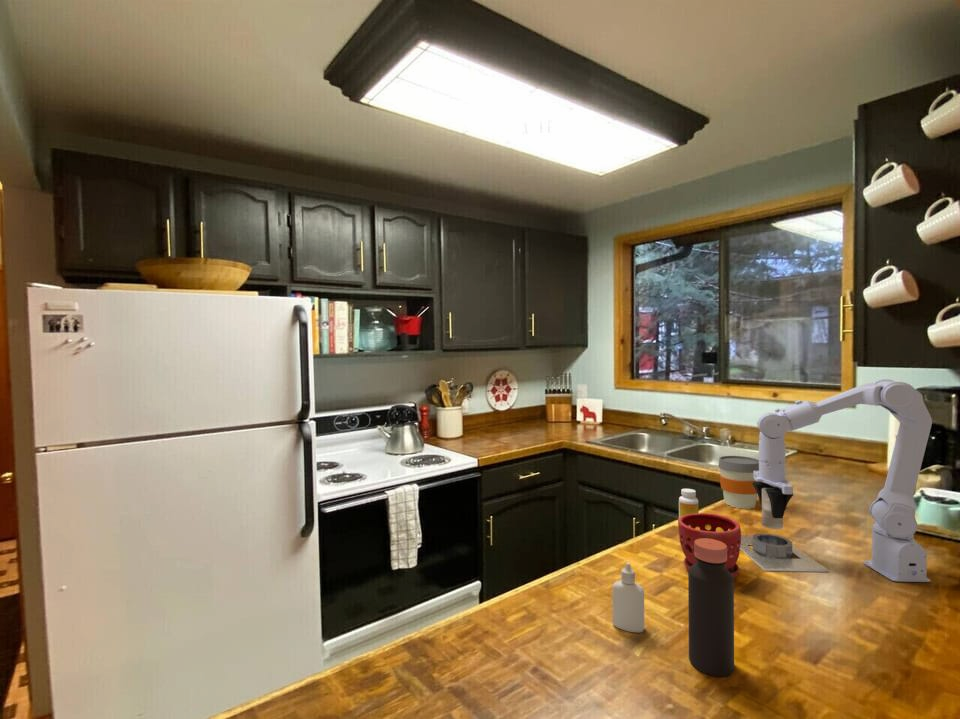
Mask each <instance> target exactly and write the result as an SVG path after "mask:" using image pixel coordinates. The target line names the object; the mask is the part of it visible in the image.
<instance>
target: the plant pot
mask: <svg viewBox="0 0 960 719" xmlns="http://www.w3.org/2000/svg"><path fill="white" fill-rule="evenodd" d="M677 523H678V524H677V525H678V526H677V527H678V528H677V529H678V536H679V542H680V547H681V549H682V553H683V555H684V557H685V558H684V560H683V564H684V566H685V567H686V568H685V569H687V570H688V571H689V568H690V567H691V566H692V565H694V564H695V563H696V559H695V555H694V541H695V540H697V539H701V538H708V539H714V540H718V541H721V542H723V543H724V544H726V545H727V563H726V564H725V568H726V569H727V570H728V571H729V572H730V573H731V574H732V576H733V579H735V577H737V576H738V575H739V573H740V567H739V564H738V560H739V558H740V553H741V552H740V551H741V550H740V545H741V535H742V530H741V525H740V524H739V522H737V521H736V520H734V518H733V519H732V518H731V517H728V516H724V515H720V514H716V513H706V512H705V513H704V512H698V513H694V514H687V515H684V516H682V517H680V518H679V517H678V521H677ZM706 526H709V527H710V529H708V528H706ZM697 527H698V528H699V529H697ZM718 528H720V529H722V531H717V529H718Z"/></svg>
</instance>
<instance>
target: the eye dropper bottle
mask: <svg viewBox="0 0 960 719" xmlns="http://www.w3.org/2000/svg"><path fill="white" fill-rule="evenodd" d="M635 574H636V571H635V570H634V569H632V568H631V563H630V562H626V563H625V567H623V568H621V576H620V577H621V578H620V579H621V580H617V581H615V582H614V583H613V584H612V625H613V626H614V627H615V628H618V629H619V630H623V631H626V632H630V633H643V632H644V630H645V591H644V590H645V589H644V588H643V587H642V586H641V585H640V584H639V583H638V582H636V575H635Z"/></svg>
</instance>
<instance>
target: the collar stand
mask: <svg viewBox="0 0 960 719" xmlns="http://www.w3.org/2000/svg"><path fill="white" fill-rule="evenodd" d="M748 545H753V546H752V547H751V546H748ZM740 549H741V550H742V551H743V552H742V551H741V550H740V551H741V552H742V553H743V554H745V555H746V556H747V557H748V556H749V557H750V558H751V561H753V562H754V563H755V564H756V565H757V566H758V567H760V568H761V569H762V570H763V571H764V572H805V573H806V572H811V573H814V572H815V573H818V572H819V573H828V568H826V567H825V566H823V565H822V564H820V563H819V562H817V561H816V560H815V559H813V558H812V557H810V556H809V555H807V554H806V553H804V552H803V551H802V550H800V549H799V548H797V547H796V546H795V545H794V544H793V541H792V540H790V539H788V538H786V537H783V536H781V535H778V534H771V533H756V534H753V535H752V534H751V535H749V534H745V535H744V534H741V545H740ZM793 556H794V557H796V558H793ZM749 557H748V558H749Z"/></svg>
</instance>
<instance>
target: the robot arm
mask: <svg viewBox="0 0 960 719" xmlns="http://www.w3.org/2000/svg"><path fill="white" fill-rule="evenodd" d="M857 405H868V406H876V407H877V406H878V407H882V408H884V409H886V410H887V411H889V413H890V414H891V415H892V416H893V417H894V418H895V419H896V420H897V421H898V422H899V426H898V429H897V430H898V431H897V434H896V438H895V441H894V447H893V451H892V455H891V458H890V463H889V466H888V472H887V475H886V480H885V483H884V487H883V488H882V489H881V490H880V491H879V492H878V495H877V498H876V499H875V500H874V501H873V502H872V503H871V504H870V507H869V513H870V515H871V518H872V519H874V521H875V522H874V524H873V525H872V527H871V528H872V531H871V534H872V535H871V536H872V537H871V540H872V541H871V543H872V545H871V548H872V549H871V550H872V551H871V552H872V554H871V556H872V557H871V558H872V559H871V560H862V563H863V564H864V565H865V566H867V567H869V568H871V569H872V570H874V571H876V572H877V573H879V574H880V575H882V576H884V577H886V578H887V579H889V580H890V581H892V582H903V583H904V582H906V583H907V582H908V583H912V582H914V583H931V582H932V581H931V579H930V578H928V577H927V565H928V564H927V557H928V556H927V552H926V550H925V548H924V547H922V545H921V544H919V543H918V542H917V541H916V539H915V536H914V535H915V534H916V532H917V529H918V522H917V519H916V510H917V508H916V502H915V498H914V494H915V490H916V488H917V483H918V480H919V476H920V471H921V468H922V463H923V461H924V457H925V452H926V448H927V445H928V440H929V436H930V432H931V429H932V424H933V418H932V417H931V414H930V412H929V411H928V409H927V406H926V404H925V402H924V398H923V394H922V393H921V392H919V391H918V389H916V388H914V387H913V386H912V385H911V384H909V383H907V382H903V381H895V380H892V379H881V380H877V381H876V382H868V383H865V384H861V385H859V386H856V387H853V388H850V389H848V390H846V391H842V392H841V393H837V394H834V395H832V396H829V397H827V398H824V399H822V400H820V401H817V402H816V401H815V402H813V401H810V400H803V401H802V400H800V399H798V400H795V401H794V404H792V405H790V406H789V405H788V406H786V407H783V408H779V407H777V408H774V412H766V413H763V414H762V415H760V417H759V418H758V421H757V422H756V424H757V428H758V429H759V431H760V432H759V435H758V438H759V441H758V460H759V471H754V480H756V481H758V482H753V483H752V484H753V486H754V488H755V490H756V492H757V497H758V501H759V505H760V508H761V509H762V488H774V489H766V492H767V494H768V496H769V499H770V503H771V511H772V516H773V518H783V519H784V515H785V511H786V509H787V506H788V505H789V504H788V503H789V502H790V501H791V499H792V497H793V496H794V486H793V485H791V484H790V483H789V481H788V480H787V479H786V443H785V435H786V434H787V432H788V431H789V432H794V431H795V430H796V431H797V430H799V429H801V428H805V427H807V426H810V425H811V426H812V425H813V424H817V423H819V422H820V420H821V418H822V416H823V415H827V414H830V413H833V412H837V411H840V410H844V409H846V408H847V409H848V408H850V407H853V406H857Z"/></svg>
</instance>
